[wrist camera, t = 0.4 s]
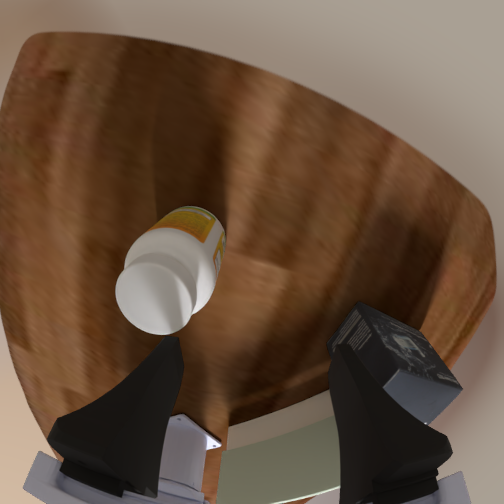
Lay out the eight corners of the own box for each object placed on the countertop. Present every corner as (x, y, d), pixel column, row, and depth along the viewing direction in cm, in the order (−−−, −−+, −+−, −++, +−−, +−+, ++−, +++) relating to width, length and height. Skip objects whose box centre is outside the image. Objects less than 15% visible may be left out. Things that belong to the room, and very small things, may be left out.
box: (421, 329, 25) (466, 389, 16) (389, 367, 27) (421, 432, 18) (358, 297, 24) (401, 369, 15) (323, 344, 25) (347, 423, 16)
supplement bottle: (146, 226, 22) (83, 279, 12) (203, 191, 21) (163, 225, 11) (183, 281, 23) (145, 358, 14) (239, 252, 22) (229, 323, 13)
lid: (218, 512, 18) (215, 510, 18) (224, 453, 26) (222, 451, 26) (384, 470, 15) (383, 469, 15) (362, 404, 23) (361, 402, 23)
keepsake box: (262, 452, 32) (262, 475, 28) (228, 427, 30) (226, 452, 26) (372, 410, 29) (380, 434, 25) (353, 377, 27) (363, 404, 23)
